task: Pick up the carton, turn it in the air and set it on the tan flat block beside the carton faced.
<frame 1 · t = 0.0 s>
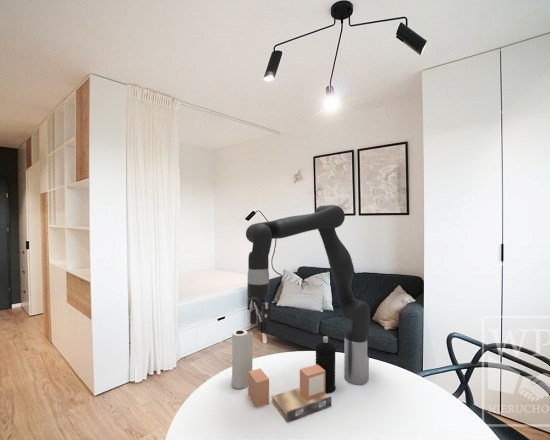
hand: (258, 327, 95), 29 cm above the table, fingers open, 8 cm apart
tan flat block: (300, 403, 99), on the table
aerosol can: (325, 387, 109), on the table
carton: (258, 399, 101), on the table
paper towel roll: (240, 385, 110), on the table
carton faced: (312, 394, 102), point 2 cm above the table, touching tan flat block
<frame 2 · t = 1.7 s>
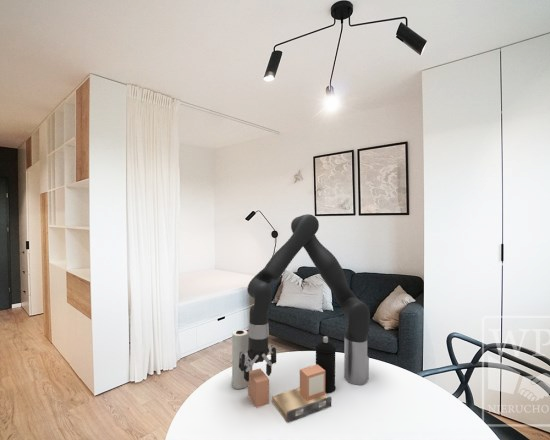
hand: (257, 377, 102), 8 cm above the table, fingers open, 8 cm apart
nothing on the table moved.
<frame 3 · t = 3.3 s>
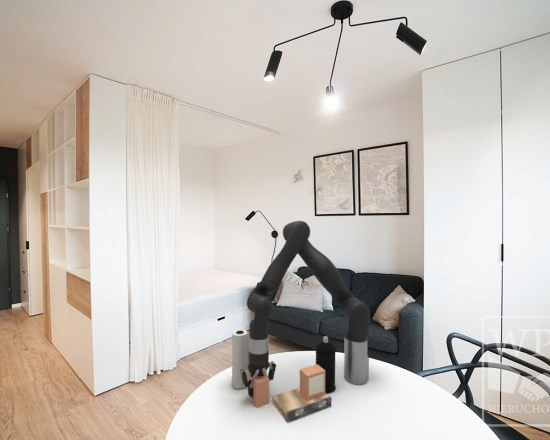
hand: (258, 393, 102), 2 cm above the table, fingers closed on carton, 5 cm apart
carton: (258, 399, 102), on the table, touching gripper
everything else where it was.
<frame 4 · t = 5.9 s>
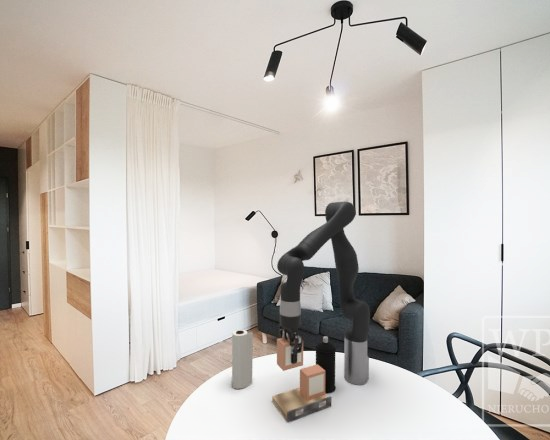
hand: (289, 359, 98), 17 cm above the table, fingers closed on carton, 5 cm apart
carton: (289, 364, 98), point 15 cm above the table, touching gripper
everything else where it was.
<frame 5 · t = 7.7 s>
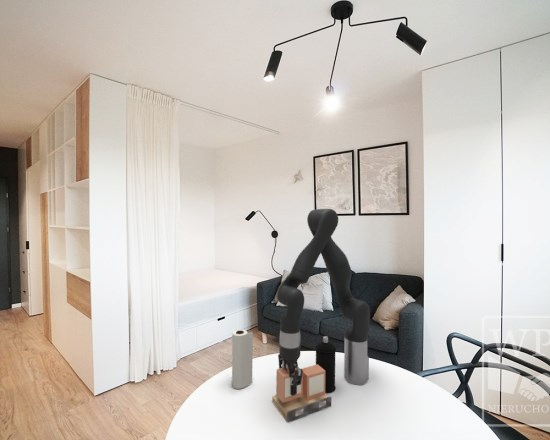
hand: (289, 389, 98), 6 cm above the table, fingers closed on carton, 5 cm apart
carton: (289, 395, 98), point 4 cm above the table, touching gripper
everything else where it was.
when the fingers open (5 cm above the table, at t = 8.8 s): carton stays where it is, resting on tan flat block.
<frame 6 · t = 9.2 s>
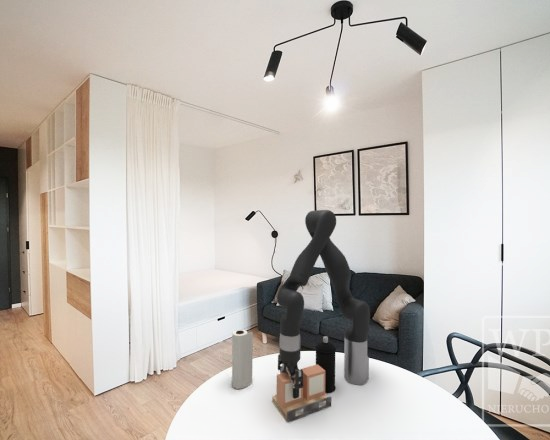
hand: (289, 390, 98), 6 cm above the table, fingers open, 8 cm apart
carton: (289, 400, 98), point 2 cm above the table, touching tan flat block
everything else where it was.
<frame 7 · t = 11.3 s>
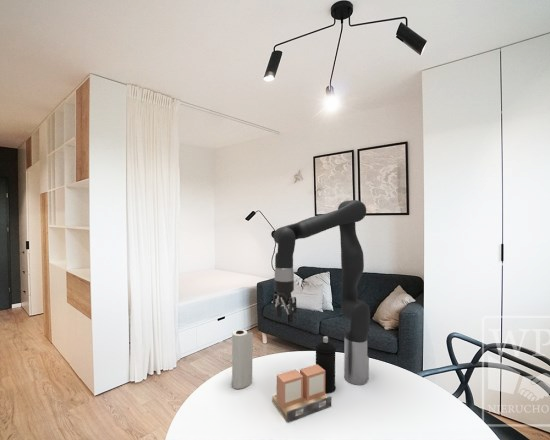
hand: (284, 320, 107), 28 cm above the table, fingers open, 8 cm apart
nothing on the table moved.
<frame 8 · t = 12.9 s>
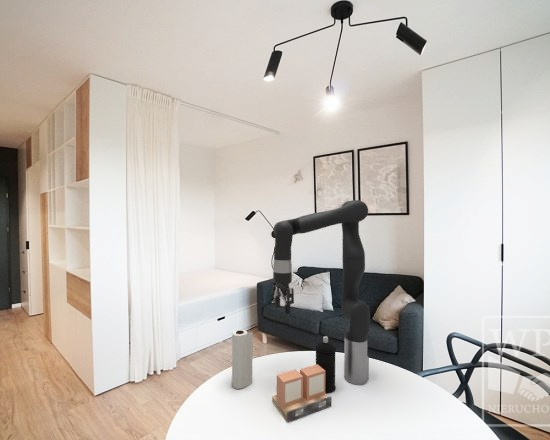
hand: (282, 310, 111), 30 cm above the table, fingers open, 8 cm apart
nothing on the table moved.
at the end: carton inside the target area (0.4 cm from its centre), point 2.0 cm above the table; carton tilted 0°; the gripper is holding nothing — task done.
